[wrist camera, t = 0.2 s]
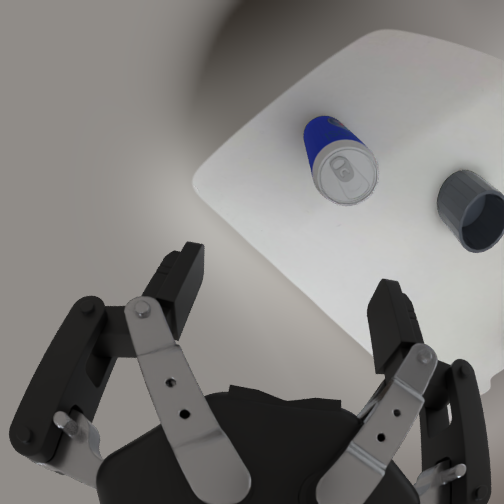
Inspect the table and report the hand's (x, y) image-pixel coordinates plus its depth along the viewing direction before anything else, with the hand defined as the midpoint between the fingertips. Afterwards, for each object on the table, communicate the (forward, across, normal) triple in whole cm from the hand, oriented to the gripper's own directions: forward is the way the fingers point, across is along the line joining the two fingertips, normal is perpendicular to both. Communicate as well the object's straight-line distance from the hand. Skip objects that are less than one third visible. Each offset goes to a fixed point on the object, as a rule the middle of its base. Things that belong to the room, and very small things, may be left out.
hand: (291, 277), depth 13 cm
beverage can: (+25, -3, -1) cm, 25 cm away
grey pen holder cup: (+26, -25, +2) cm, 36 cm away
